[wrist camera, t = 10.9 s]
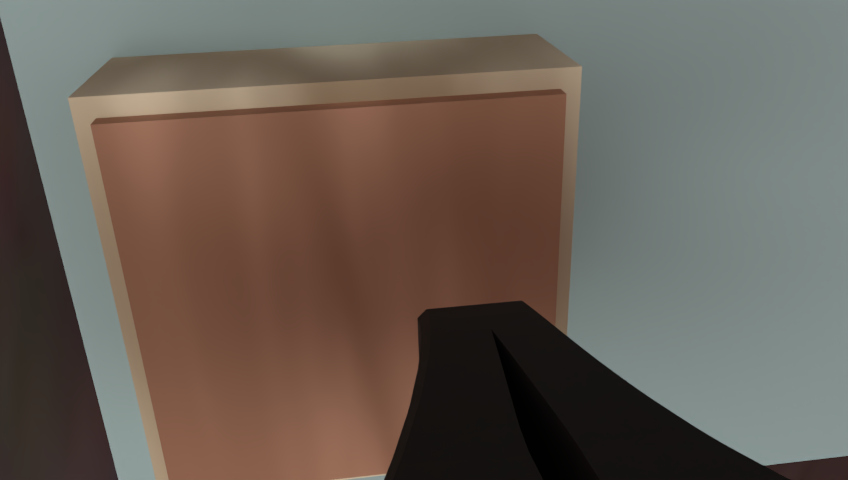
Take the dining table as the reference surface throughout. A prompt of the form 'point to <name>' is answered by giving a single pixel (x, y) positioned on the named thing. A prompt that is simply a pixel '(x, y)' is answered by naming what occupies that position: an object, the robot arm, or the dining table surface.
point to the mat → (594, 190)
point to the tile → (319, 233)
